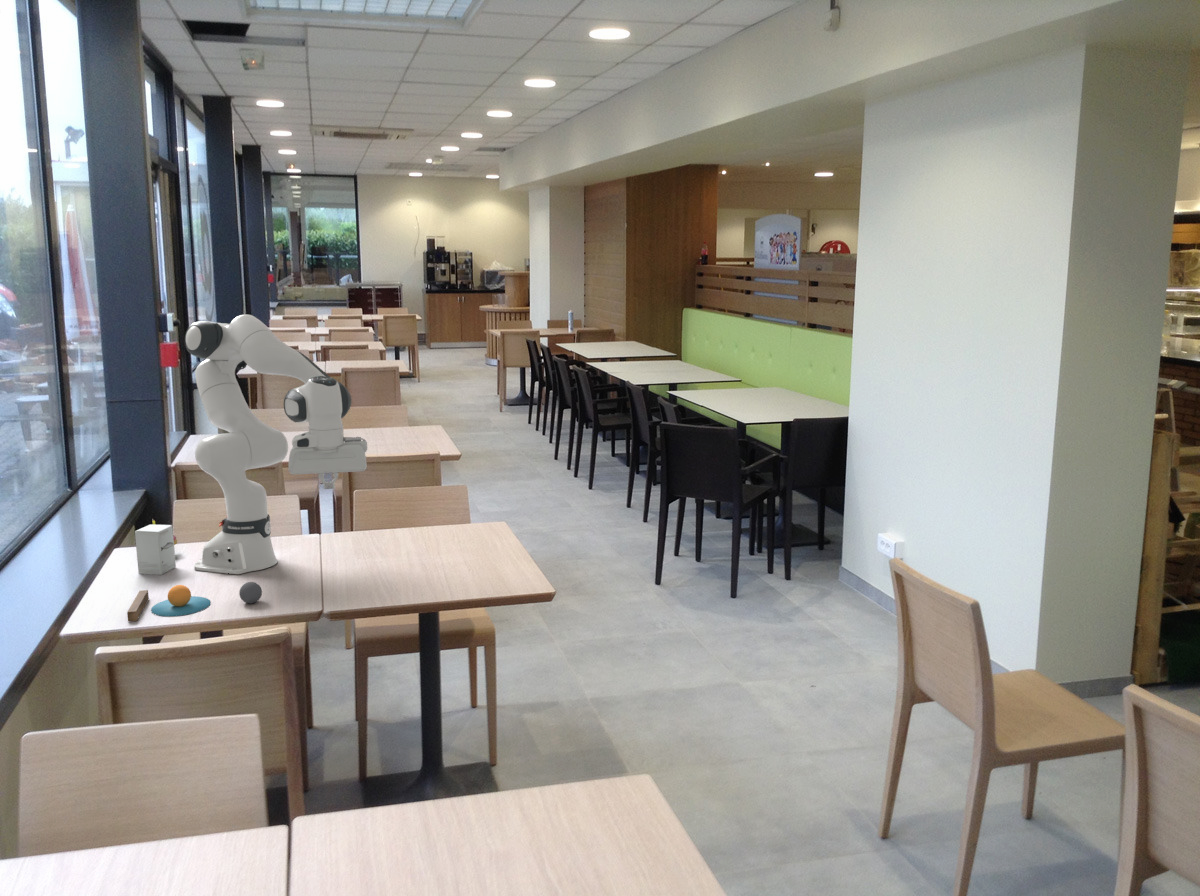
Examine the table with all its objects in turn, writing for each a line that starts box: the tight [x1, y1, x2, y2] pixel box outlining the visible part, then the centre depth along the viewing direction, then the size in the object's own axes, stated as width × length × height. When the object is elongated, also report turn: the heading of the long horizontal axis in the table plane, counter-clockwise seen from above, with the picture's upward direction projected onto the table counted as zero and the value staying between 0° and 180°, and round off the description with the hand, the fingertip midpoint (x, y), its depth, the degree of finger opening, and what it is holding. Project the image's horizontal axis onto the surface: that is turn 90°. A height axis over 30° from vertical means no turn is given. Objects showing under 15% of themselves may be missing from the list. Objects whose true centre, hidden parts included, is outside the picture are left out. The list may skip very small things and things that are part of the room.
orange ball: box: [167, 584, 192, 607], centre depth 253 cm, size 6×6×6 cm
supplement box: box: [134, 524, 177, 576], centre depth 280 cm, size 7×7×13 cm
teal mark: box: [150, 595, 211, 617], centre depth 253 cm, size 14×14×1 cm
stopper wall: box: [126, 589, 150, 622], centre depth 250 cm, size 2×16×2 cm, turn 14°
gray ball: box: [238, 581, 263, 604], centre depth 255 cm, size 6×6×6 cm
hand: (329, 488), depth 266 cm, fingers closed
